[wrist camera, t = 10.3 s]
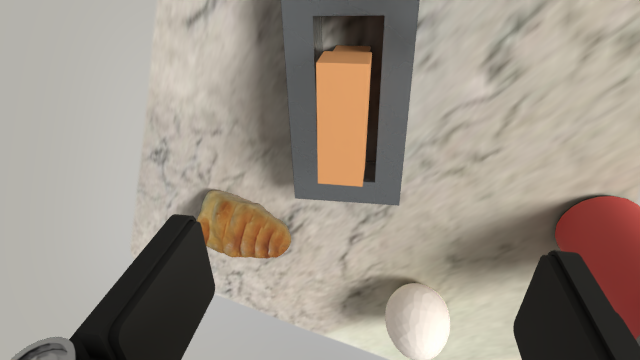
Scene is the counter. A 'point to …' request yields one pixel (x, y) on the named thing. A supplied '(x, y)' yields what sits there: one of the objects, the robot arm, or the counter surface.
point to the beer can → (608, 250)
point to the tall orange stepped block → (342, 114)
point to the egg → (417, 321)
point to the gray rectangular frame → (396, 75)
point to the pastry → (241, 227)
